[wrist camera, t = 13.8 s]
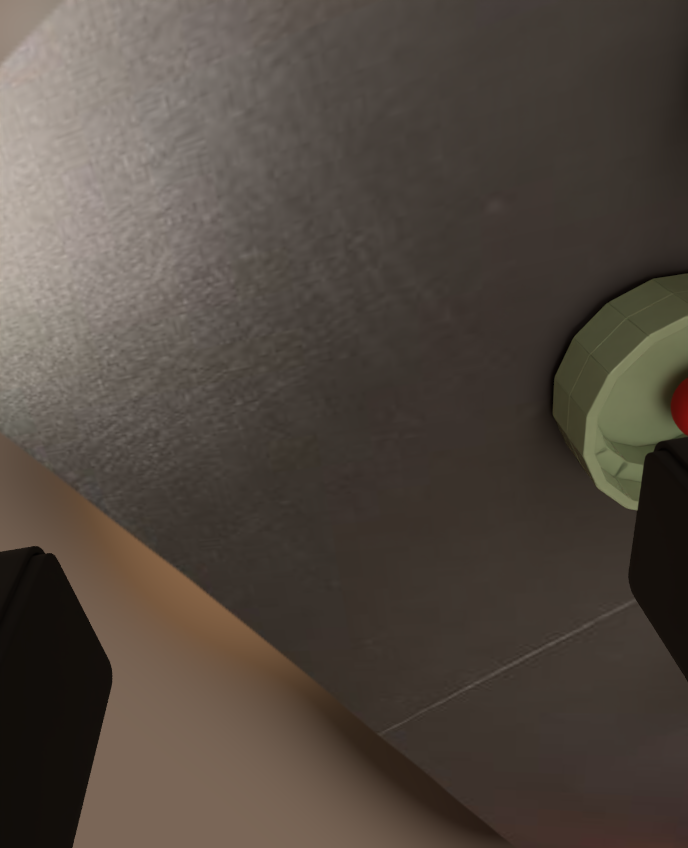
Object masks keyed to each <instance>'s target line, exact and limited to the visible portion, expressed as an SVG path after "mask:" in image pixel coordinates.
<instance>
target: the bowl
mask: <svg viewBox="0 0 688 848" xmlns="http://www.w3.org/2000/svg"><path fill="white" fill-rule="evenodd" d="M687 377H688V273H687V274H680V275H674V276H667V277H661V278H654V279H652V280H649V281H647V282H646V283H644V284H642V285H640V286H638V287H636V288H634V289H632V290H630V291H629V292H627V293H625V294H623V295H621V296H619V297H617V298H615V299H614V300H612V301H610V302H608V303H607V304H606V305H605V306H604V307H603V308H602V309H601V310H600V311H599V312H598V313H597V314H596V315H595V316H594V317H593V318H592V319H591V320H590V321H589V322H588V323H587V324H586V325H585V326H584V327H583V328H582V329H581V330H580V331H579V332H578V333H577V334H576V335H575V336H574V338H573V339H572V341H571V343H570V346H569V348H568V350H567V352H566V354H565V356H564V358H563V360H562V362H561V364H560V367H559V369H558V371H557V373H556V375H555V378H554V396H553V417H554V419H555V421H556V423H557V425H558V427H559V429H560V432H561V434H562V436H563V438H564V440H565V442H566V444H567V446H568V447H569V449H570V450H571V451H572V453H573V454H574V456H575V457H576V458H577V460H578V461H579V463H580V464H581V466H582V467H583V468H584V470H585V471H586V473H587V474H588V476H589V477H590V478H591V480H592V481H593V483H594V484H595V485H596V487H597V488H598V489H599V490H601V491H602V492H604V493H605V494H606V495H608V496H609V497H611V498H612V499H613V500H615V501H616V502H618V503H619V504H621V505H622V506H623V507H625V508H627V509H632V510H637V509H638V502H639V495H640V488H641V481H642V473H643V466H644V460H645V456H646V455H647V454H648V453H650V452H654V449H655V446H656V445H657V443H658V442H661V441H665V440H671V439H677V438H683V437H688V436H687V435H685V434H684V433H683V432H682V431H681V430H680V429H679V428H678V427H677V425H676V424H675V422H674V420H673V418H672V414H671V400H672V396H673V394H674V392H675V390H676V388H677V387H678V385H679V384H680V383H681V382H682V381H683V380H685V379H686V378H687Z"/></svg>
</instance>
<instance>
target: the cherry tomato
mask: <svg viewBox="0 0 688 848" xmlns="http://www.w3.org/2000/svg"><path fill="white" fill-rule="evenodd" d="M671 414H672V418H673V420H674V422H675V424H676V425H677V427H678V428H679V429H680V430H681V431H682V432H683V433H684V434H685V435H687V436H688V377H687V378H686V379H685V380H683V381H682V382H681V383H680V384H679V385H678V387H677V388H676V390H675V392H674V394H673V396H672V400H671Z"/></svg>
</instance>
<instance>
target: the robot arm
mask: <svg viewBox="0 0 688 848" xmlns="http://www.w3.org/2000/svg"><path fill="white" fill-rule="evenodd" d="M628 578H629V584H630V588H631V591H632V593H633V595H634V597H635V599H636V600H637V602H638V603H639V605H640V607H641V608H642V610H643V611H644V613H645V615H646V616H647V618H648V619H649V621H650V622H651V624H652V626H653V627H654V629H655V630H656V632H657V633H658V635H659V637H660V638H661V640H662V641H663V643H664V644H665V646H666V648H667V649H668V651H669V652H670V654H671V656H672V657H673V659H674V660H675V662H676V663H677V665H678V667H679V668H680V670H681V671H682V673H683V674H684V676H685V678H686V679H687V681H688V437H683V438H677V439H671V440H665V441H661V442H658V443H657V445H656V446H655V449H654V452H650V453H648V454H647V455H646V456H645V460H644V466H643V473H642V481H641V488H640V495H639V502H638V509H637V516H636V523H635V530H634V538H633V545H632V552H631V559H630V566H629V576H628ZM111 686H112V668H111V664H110V661H109V659H108V657H107V655H106V654H105V652H104V649H103V647H102V646H101V644H100V642H99V640H98V638H97V636H96V634H95V632H94V630H93V628H92V626H91V624H90V622H89V620H88V618H87V616H86V614H85V612H84V611H83V608H82V606H81V605H80V603H79V601H78V599H77V597H76V595H75V593H74V591H73V589H72V587H71V585H70V583H69V581H68V579H67V577H66V575H65V573H64V571H63V569H62V568H61V565H60V563H59V562H58V560H57V558H56V557H55V555H53V554H52V553H47V554H45V553H44V551H43V550H42V549H41V548H40V547H38V546H32V547H27V548H21V549H15V550H9V551H3V552H0V848H72V847H73V843H74V838H75V835H76V830H77V826H78V822H79V818H80V814H81V810H82V806H83V802H84V797H85V793H86V789H87V785H88V781H89V777H90V773H91V768H92V764H93V760H94V756H95V752H96V748H97V744H98V740H99V736H100V732H101V727H102V723H103V719H104V715H105V711H106V707H107V703H108V699H109V694H110V690H111Z"/></svg>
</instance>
